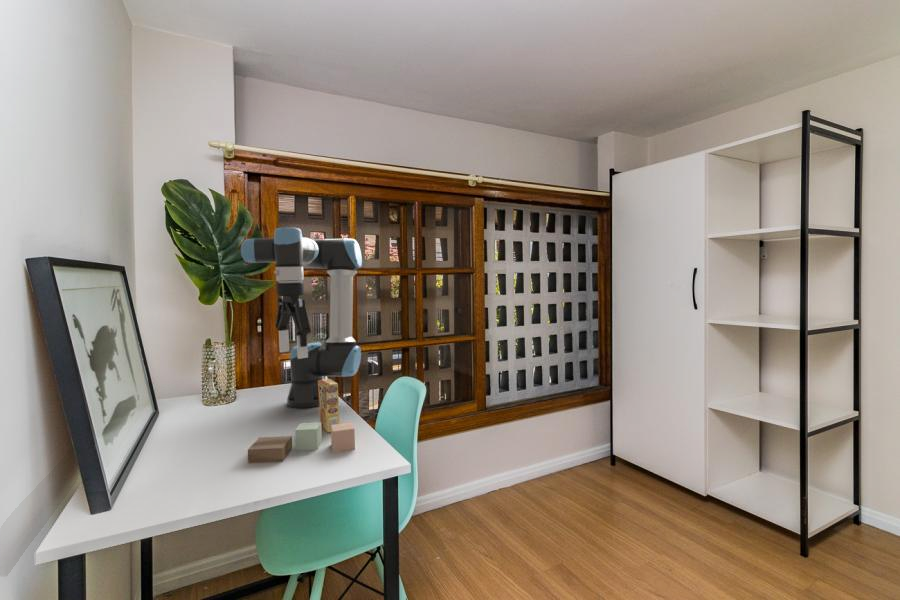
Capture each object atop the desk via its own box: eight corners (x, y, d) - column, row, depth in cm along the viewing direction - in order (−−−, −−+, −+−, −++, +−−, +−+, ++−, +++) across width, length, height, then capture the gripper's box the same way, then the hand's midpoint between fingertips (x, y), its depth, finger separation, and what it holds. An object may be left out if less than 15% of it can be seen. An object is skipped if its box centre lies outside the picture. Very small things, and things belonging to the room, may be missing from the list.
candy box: (340, 430, 142) (338, 383, 141) (327, 433, 140) (325, 385, 139) (331, 423, 150) (329, 378, 149) (318, 425, 147) (317, 379, 146)
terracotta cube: (331, 444, 130) (330, 424, 130) (352, 442, 132) (351, 422, 132) (333, 452, 125) (332, 431, 124) (355, 449, 127) (354, 428, 126)
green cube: (301, 442, 132) (300, 423, 132) (321, 441, 133) (321, 422, 132) (296, 450, 126) (295, 429, 126) (317, 449, 127) (316, 428, 126)
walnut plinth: (260, 451, 127) (259, 437, 127) (292, 449, 128) (291, 436, 127) (248, 464, 118) (247, 449, 118) (282, 462, 119) (282, 448, 118)
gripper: (261, 281, 135) (265, 351, 136) (294, 282, 116) (297, 363, 118) (286, 281, 140) (289, 347, 141) (321, 281, 121) (324, 358, 123)
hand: (293, 354), depth 130 cm, fingers open, 13 cm apart
